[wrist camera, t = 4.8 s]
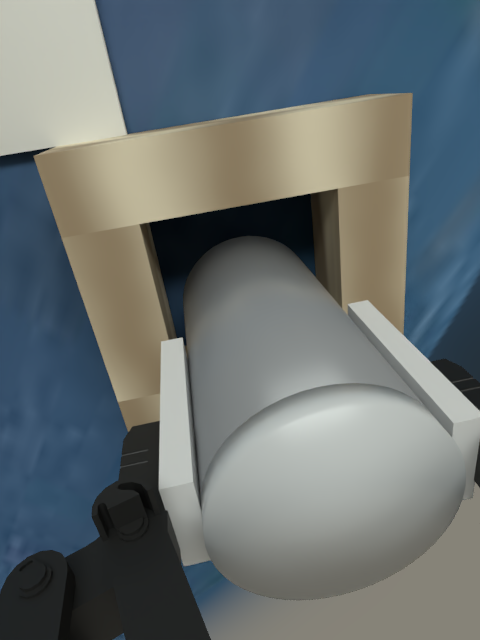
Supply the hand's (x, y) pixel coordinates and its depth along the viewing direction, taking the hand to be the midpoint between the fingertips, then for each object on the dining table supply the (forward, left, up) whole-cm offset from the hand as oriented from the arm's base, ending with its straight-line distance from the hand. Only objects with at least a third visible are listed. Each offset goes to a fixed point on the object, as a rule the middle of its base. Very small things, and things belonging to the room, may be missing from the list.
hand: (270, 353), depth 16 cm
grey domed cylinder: (0, 0, -5) cm, 5 cm away
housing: (0, +1, -8) cm, 8 cm away
